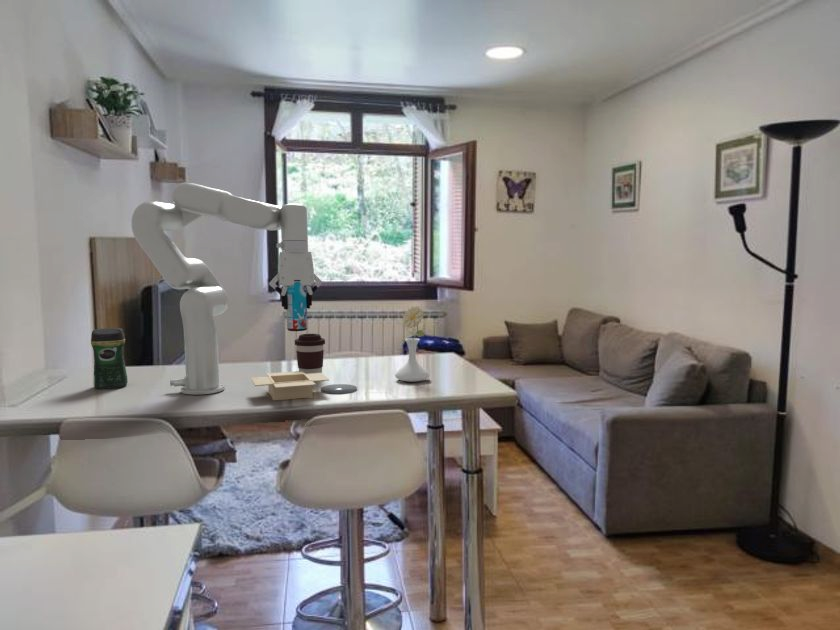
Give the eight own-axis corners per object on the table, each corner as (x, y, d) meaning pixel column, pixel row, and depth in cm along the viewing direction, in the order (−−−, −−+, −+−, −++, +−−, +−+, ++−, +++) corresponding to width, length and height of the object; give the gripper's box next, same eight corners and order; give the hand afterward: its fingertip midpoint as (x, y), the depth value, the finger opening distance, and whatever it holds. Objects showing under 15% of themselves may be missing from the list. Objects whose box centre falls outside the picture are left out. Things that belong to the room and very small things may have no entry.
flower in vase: (389, 379, 205) (389, 304, 202) (419, 376, 210) (419, 303, 207) (406, 386, 193) (406, 307, 191) (438, 383, 198) (438, 306, 196)
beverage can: (303, 331, 178) (301, 280, 176) (283, 331, 179) (282, 280, 177) (310, 329, 183) (309, 279, 182) (291, 329, 184) (290, 279, 183)
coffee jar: (128, 383, 199) (126, 326, 197) (126, 388, 191) (123, 329, 190) (95, 385, 195) (92, 327, 194) (91, 390, 188) (88, 330, 186)
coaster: (325, 395, 181) (325, 393, 181) (317, 387, 191) (317, 385, 191) (361, 392, 185) (361, 390, 185) (351, 384, 195) (351, 383, 195)
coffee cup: (309, 375, 211) (308, 332, 209) (331, 378, 206) (331, 334, 204) (289, 380, 202) (288, 335, 201) (312, 383, 197) (311, 337, 196)
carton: (257, 406, 168) (257, 388, 168) (249, 390, 188) (249, 374, 188) (333, 399, 176) (333, 382, 176) (318, 384, 196) (317, 369, 195)
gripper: (266, 247, 172) (268, 311, 174) (326, 246, 178) (328, 308, 180) (263, 247, 179) (265, 309, 181) (321, 247, 185) (323, 306, 187)
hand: (296, 308), depth 180 cm, fingers closed on beverage can, 5 cm apart
